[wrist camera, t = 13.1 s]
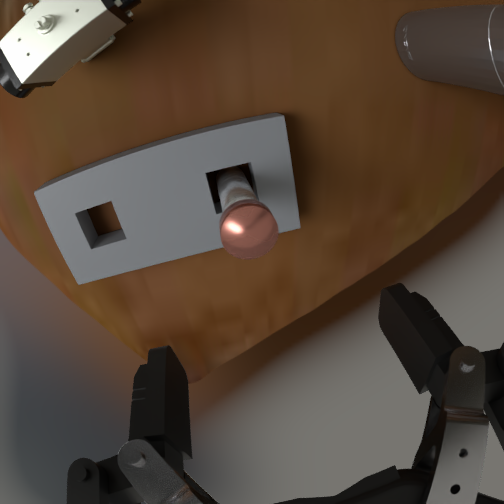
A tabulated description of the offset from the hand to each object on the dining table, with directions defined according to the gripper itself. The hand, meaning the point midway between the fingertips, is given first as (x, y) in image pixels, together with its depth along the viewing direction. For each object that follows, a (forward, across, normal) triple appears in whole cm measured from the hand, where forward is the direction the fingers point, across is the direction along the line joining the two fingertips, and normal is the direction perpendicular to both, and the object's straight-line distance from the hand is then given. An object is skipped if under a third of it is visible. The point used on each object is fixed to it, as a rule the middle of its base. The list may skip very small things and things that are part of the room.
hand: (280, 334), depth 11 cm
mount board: (+23, +7, +2) cm, 24 cm away
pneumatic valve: (+24, +10, -17) cm, 31 cm away
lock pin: (+24, 0, +2) cm, 24 cm away
